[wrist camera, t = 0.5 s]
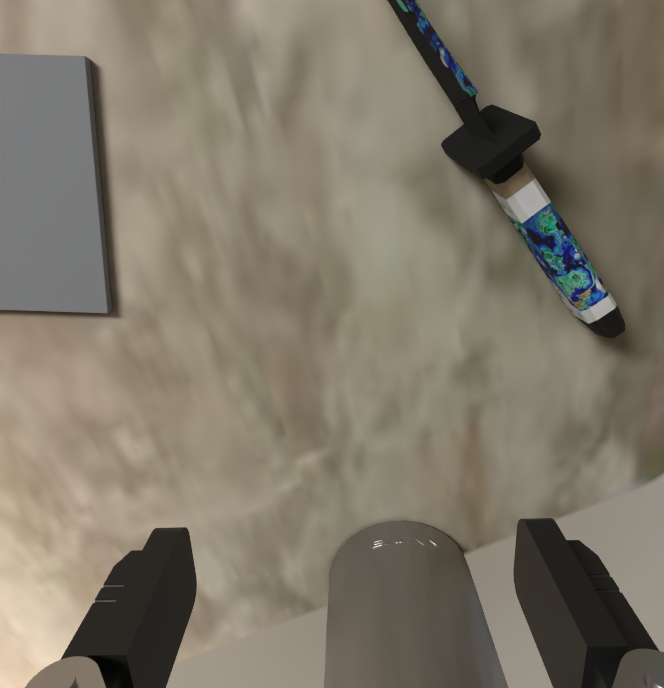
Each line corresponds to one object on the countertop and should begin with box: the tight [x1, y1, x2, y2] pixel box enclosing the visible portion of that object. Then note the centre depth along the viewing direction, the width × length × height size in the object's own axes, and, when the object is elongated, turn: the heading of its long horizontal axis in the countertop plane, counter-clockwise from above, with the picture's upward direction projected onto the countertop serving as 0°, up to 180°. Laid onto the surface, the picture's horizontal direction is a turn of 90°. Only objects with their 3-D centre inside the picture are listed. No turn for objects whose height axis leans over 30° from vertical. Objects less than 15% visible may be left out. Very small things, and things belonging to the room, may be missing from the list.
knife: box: [388, 0, 625, 338], centre depth 24 cm, size 31×3×4 cm, turn 35°
